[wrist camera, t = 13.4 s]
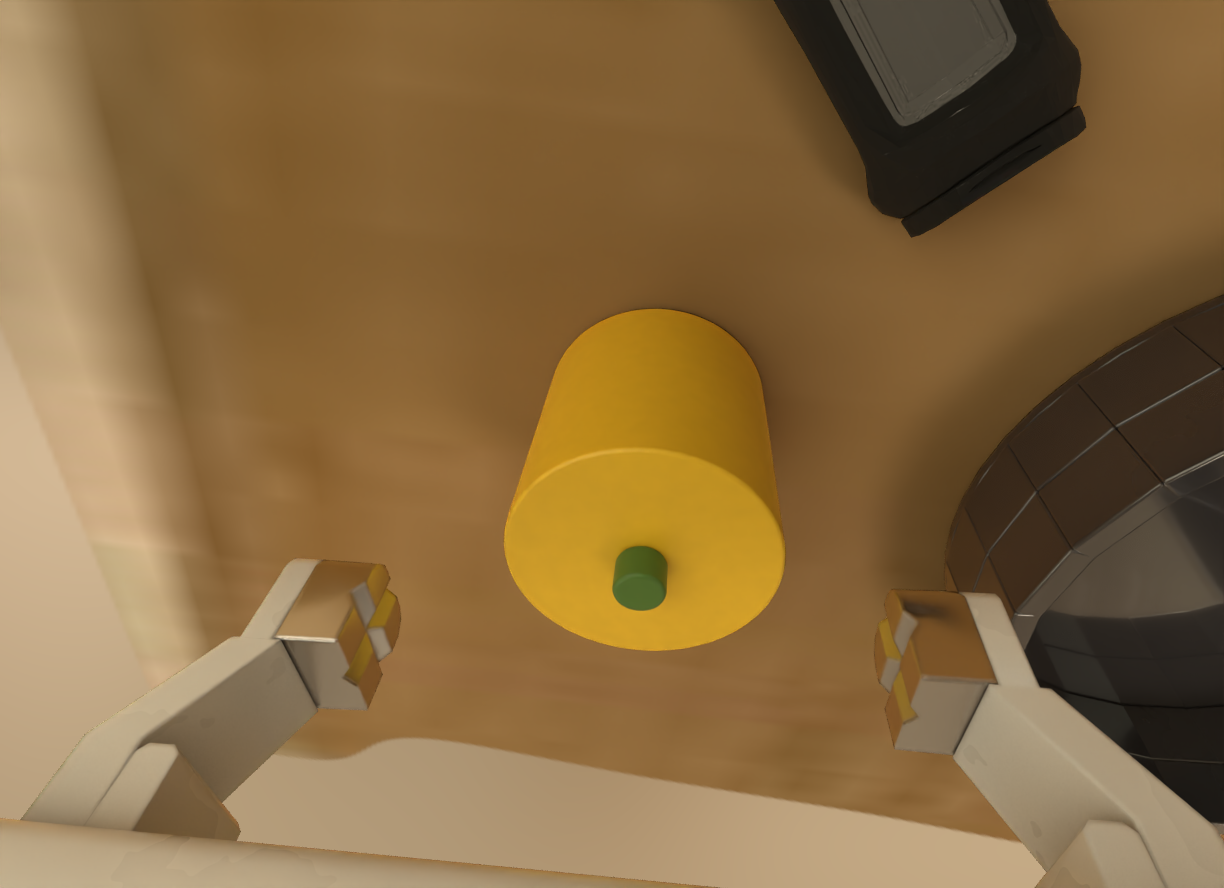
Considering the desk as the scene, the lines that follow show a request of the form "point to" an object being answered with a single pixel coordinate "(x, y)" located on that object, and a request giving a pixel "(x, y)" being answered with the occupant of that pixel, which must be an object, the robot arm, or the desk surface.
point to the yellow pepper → (649, 488)
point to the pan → (1119, 548)
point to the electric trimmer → (942, 93)
